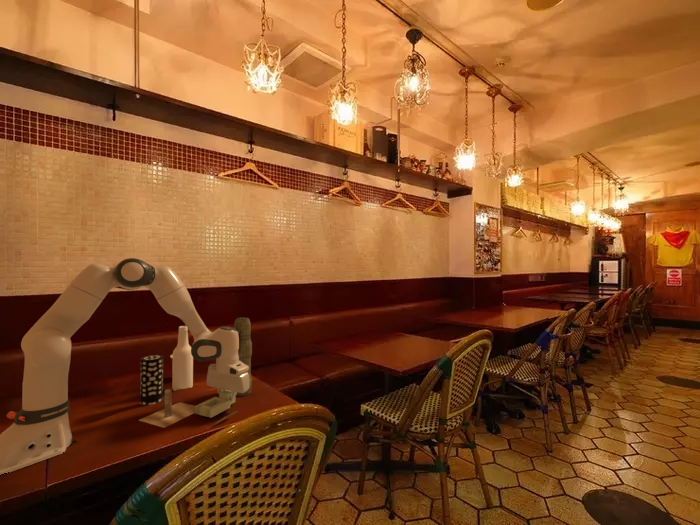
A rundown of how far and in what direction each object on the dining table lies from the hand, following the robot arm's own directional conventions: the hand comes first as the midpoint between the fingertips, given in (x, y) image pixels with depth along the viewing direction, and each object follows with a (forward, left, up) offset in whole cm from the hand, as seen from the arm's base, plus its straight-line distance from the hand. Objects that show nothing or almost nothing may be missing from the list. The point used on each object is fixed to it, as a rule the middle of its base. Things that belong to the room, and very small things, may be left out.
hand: (227, 399), depth 140 cm
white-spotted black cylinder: (-9, +33, -4) cm, 35 cm away
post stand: (-15, +14, -4) cm, 21 cm away
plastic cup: (+20, +50, -4) cm, 54 cm away
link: (-5, 0, -2) cm, 5 cm away
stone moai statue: (+17, +7, -4) cm, 18 cm away
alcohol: (+9, +36, -4) cm, 37 cm away
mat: (-5, 0, -4) cm, 7 cm away
